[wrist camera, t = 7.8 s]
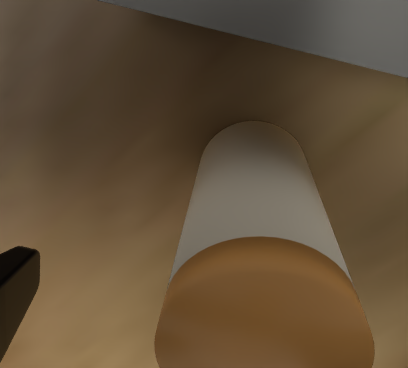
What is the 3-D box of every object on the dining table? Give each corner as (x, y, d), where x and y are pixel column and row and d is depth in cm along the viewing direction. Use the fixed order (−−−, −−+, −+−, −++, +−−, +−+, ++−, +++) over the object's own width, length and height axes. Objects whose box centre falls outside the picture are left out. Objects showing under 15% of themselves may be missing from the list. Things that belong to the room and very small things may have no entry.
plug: (322, 136, 13) (415, 304, 6) (286, 227, 15) (325, 441, 8) (213, 108, 13) (176, 246, 6) (189, 203, 15) (140, 397, 8)
